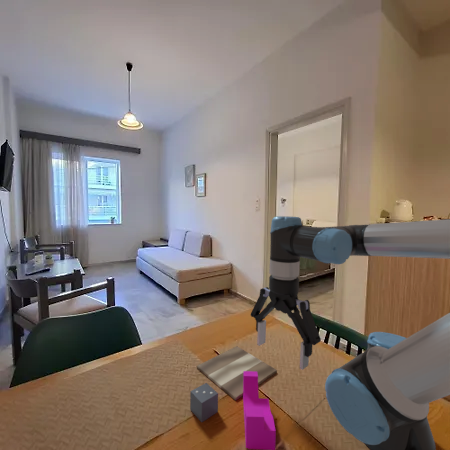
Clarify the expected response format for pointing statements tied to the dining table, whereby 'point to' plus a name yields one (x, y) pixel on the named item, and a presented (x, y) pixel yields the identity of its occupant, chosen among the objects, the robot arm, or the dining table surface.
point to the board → (234, 370)
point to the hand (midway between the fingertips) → (281, 354)
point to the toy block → (257, 415)
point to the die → (204, 402)
